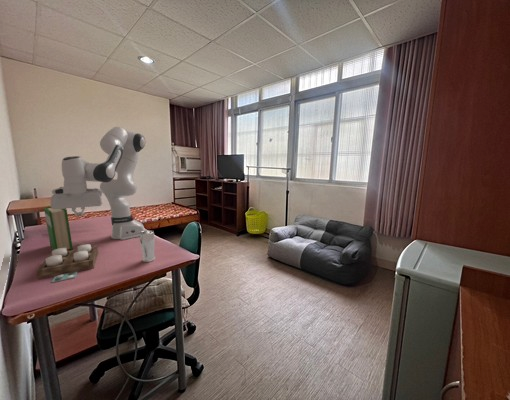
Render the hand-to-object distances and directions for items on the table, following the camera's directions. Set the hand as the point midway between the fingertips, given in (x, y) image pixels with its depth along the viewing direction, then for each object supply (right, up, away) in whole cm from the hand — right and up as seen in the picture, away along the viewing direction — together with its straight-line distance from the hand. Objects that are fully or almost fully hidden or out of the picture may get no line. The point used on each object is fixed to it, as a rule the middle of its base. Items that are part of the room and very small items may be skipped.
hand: (79, 216), depth 112 cm
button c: (+5, -21, -5) cm, 22 cm away
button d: (-4, -22, -10) cm, 24 cm away
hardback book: (-26, -21, +19) cm, 38 cm away
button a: (0, -19, +4) cm, 20 cm away
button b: (-9, -20, -1) cm, 22 cm away
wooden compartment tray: (-2, -24, -3) cm, 24 cm away
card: (+5, -26, -14) cm, 30 cm away
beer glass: (+34, -23, +3) cm, 42 cm away
